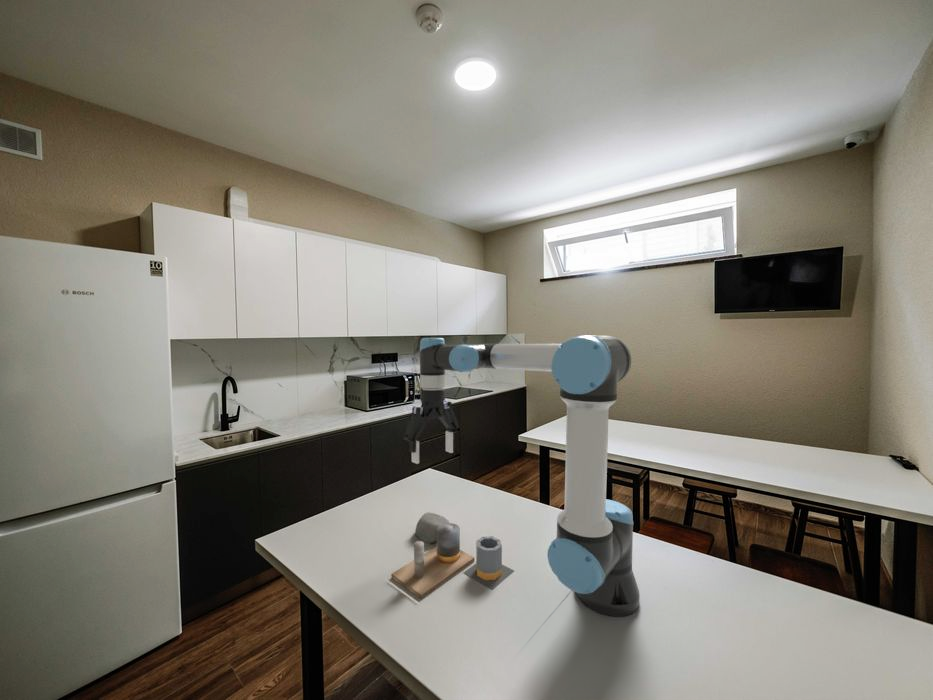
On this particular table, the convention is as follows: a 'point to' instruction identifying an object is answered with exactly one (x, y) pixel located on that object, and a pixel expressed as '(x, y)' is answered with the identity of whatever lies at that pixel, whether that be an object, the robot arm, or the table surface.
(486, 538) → the sleeve
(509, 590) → the table surface
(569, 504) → the robot arm
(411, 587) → the pin board
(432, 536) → the stone
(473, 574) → the pad
